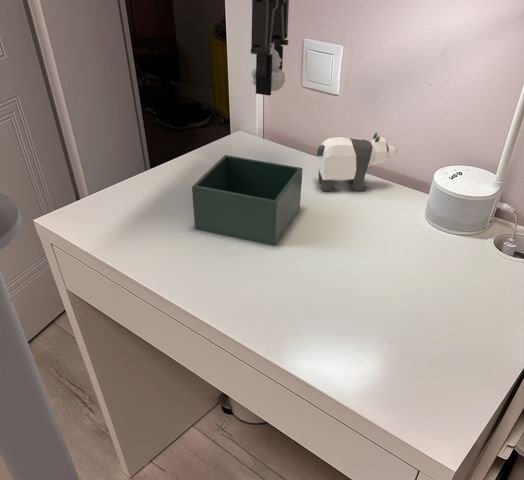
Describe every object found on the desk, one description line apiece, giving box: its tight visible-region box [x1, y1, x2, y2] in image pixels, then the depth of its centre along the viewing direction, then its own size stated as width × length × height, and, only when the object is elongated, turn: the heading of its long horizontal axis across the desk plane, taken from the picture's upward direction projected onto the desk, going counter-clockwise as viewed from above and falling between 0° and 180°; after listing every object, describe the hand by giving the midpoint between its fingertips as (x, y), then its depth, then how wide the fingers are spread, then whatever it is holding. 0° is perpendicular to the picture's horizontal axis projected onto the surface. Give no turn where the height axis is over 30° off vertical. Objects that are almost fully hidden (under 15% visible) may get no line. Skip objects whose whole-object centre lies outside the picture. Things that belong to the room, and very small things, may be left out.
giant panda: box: [316, 132, 398, 192], centre depth 99 cm, size 15×6×10 cm, turn 95°
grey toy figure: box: [250, 43, 286, 92], centre depth 96 cm, size 5×7×8 cm
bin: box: [191, 154, 304, 246], centre depth 89 cm, size 14×13×8 cm
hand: (268, 88), depth 99 cm, fingers closed on grey toy figure, 5 cm apart
